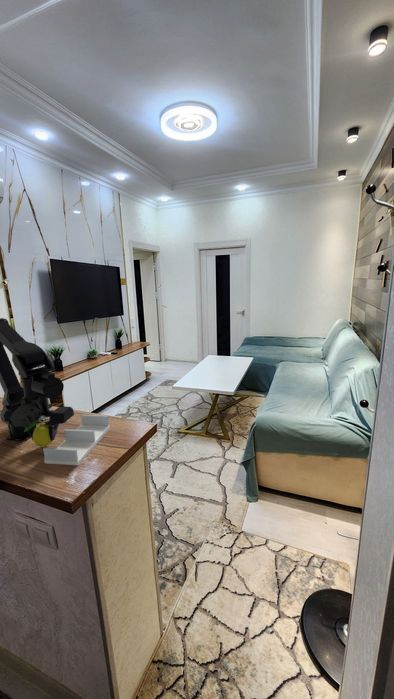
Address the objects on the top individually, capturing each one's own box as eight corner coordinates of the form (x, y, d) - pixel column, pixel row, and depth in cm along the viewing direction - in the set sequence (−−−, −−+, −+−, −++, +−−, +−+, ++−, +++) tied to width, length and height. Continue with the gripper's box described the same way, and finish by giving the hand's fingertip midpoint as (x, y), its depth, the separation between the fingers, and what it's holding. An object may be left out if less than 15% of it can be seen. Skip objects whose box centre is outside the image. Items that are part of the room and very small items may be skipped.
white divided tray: (44, 463, 80) (42, 448, 79) (82, 426, 100) (81, 414, 99) (78, 465, 79) (76, 450, 78) (110, 427, 99) (109, 415, 98)
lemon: (27, 452, 85) (22, 421, 83) (39, 442, 91) (34, 412, 89) (49, 453, 85) (44, 421, 83) (60, 442, 91) (55, 412, 88)
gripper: (-18, 401, 77) (-6, 453, 81) (48, 403, 75) (56, 457, 78) (13, 386, 88) (22, 433, 92) (71, 388, 85) (78, 436, 89)
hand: (43, 439), depth 87 cm, fingers closed on lemon, 5 cm apart
